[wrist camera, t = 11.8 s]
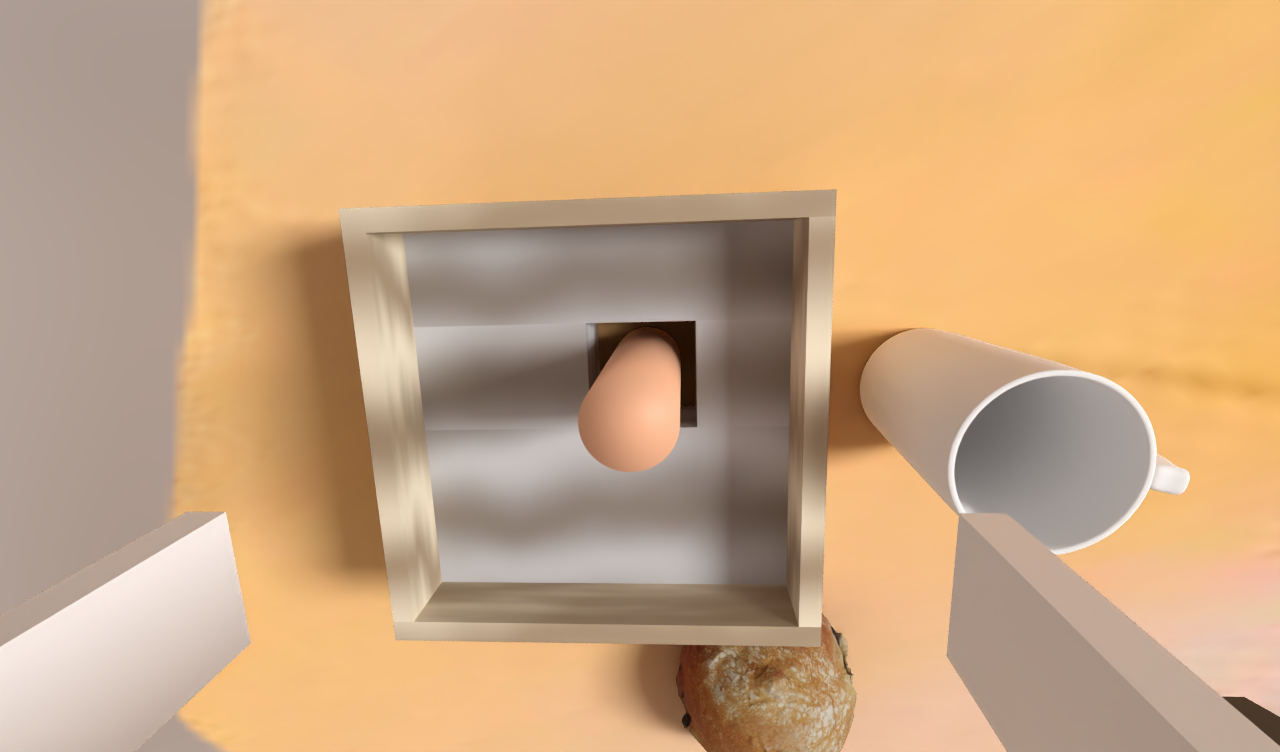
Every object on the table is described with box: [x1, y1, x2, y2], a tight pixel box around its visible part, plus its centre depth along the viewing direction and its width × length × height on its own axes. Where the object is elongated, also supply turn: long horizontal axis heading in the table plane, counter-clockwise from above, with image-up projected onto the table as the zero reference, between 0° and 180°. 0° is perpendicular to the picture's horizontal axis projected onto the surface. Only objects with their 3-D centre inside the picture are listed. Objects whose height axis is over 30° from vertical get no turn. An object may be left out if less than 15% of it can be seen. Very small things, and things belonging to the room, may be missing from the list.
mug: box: [860, 328, 1190, 555], centre depth 27 cm, size 10×7×12 cm, turn 79°
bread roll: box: [676, 613, 856, 752], centre depth 35 cm, size 10×10×8 cm
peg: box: [578, 327, 681, 472], centre depth 27 cm, size 4×4×12 cm
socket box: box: [339, 189, 836, 647], centre depth 30 cm, size 20×20×8 cm
